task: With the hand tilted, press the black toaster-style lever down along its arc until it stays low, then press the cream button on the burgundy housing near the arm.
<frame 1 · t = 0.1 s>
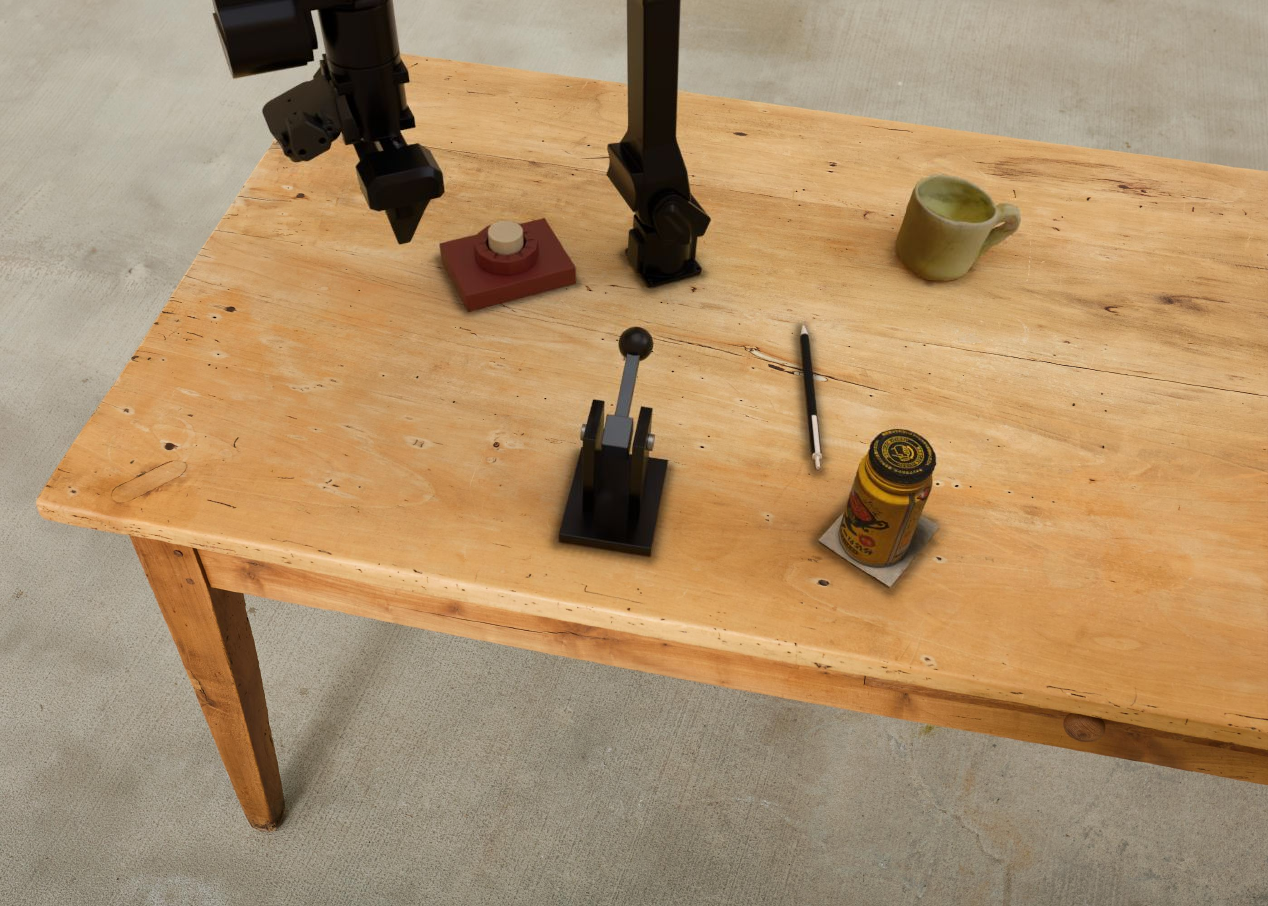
hand: (389, 212, 95), 15 cm above the table, tool pointing down, fingers open, 9 cm apart
button housing: (508, 271, 113), on the table
cancel button: (505, 237, 109), point 4 cm above the table, slide at 0.1 cm
lever bracket: (614, 503, 93), on the table
mug: (948, 260, 117), on the table
condiment: (878, 536, 92), on the table
pen: (809, 396, 103), on the table
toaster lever: (627, 389, 88), point 10 cm above the table, hinge at 15.0°
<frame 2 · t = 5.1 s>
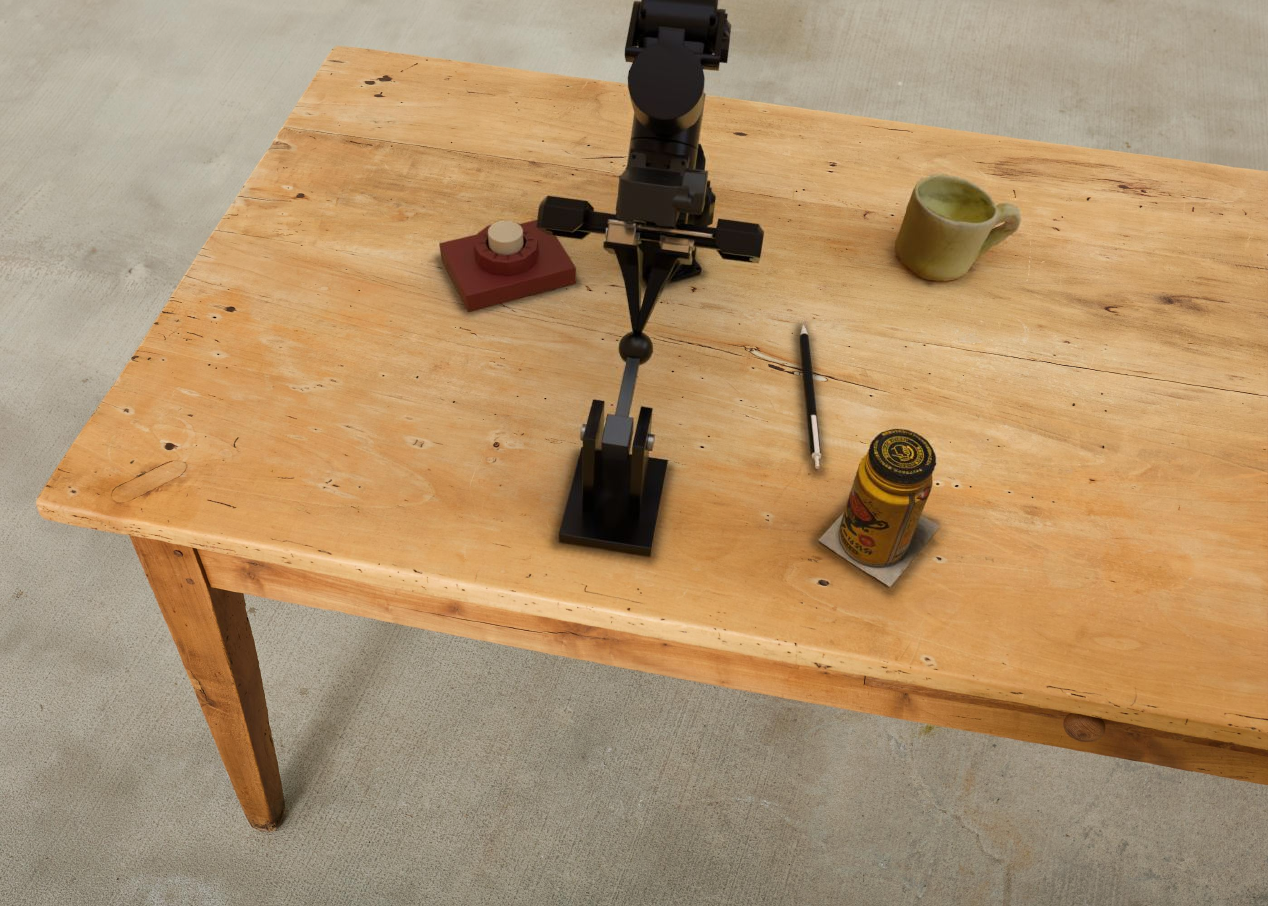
hand: (637, 332, 90), 12 cm above the table, tool tilted 45°, fingers closed, pressing on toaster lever
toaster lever: (627, 391, 89), point 10 cm above the table, hinge at 10.7°, touching gripper
everything else where it was.
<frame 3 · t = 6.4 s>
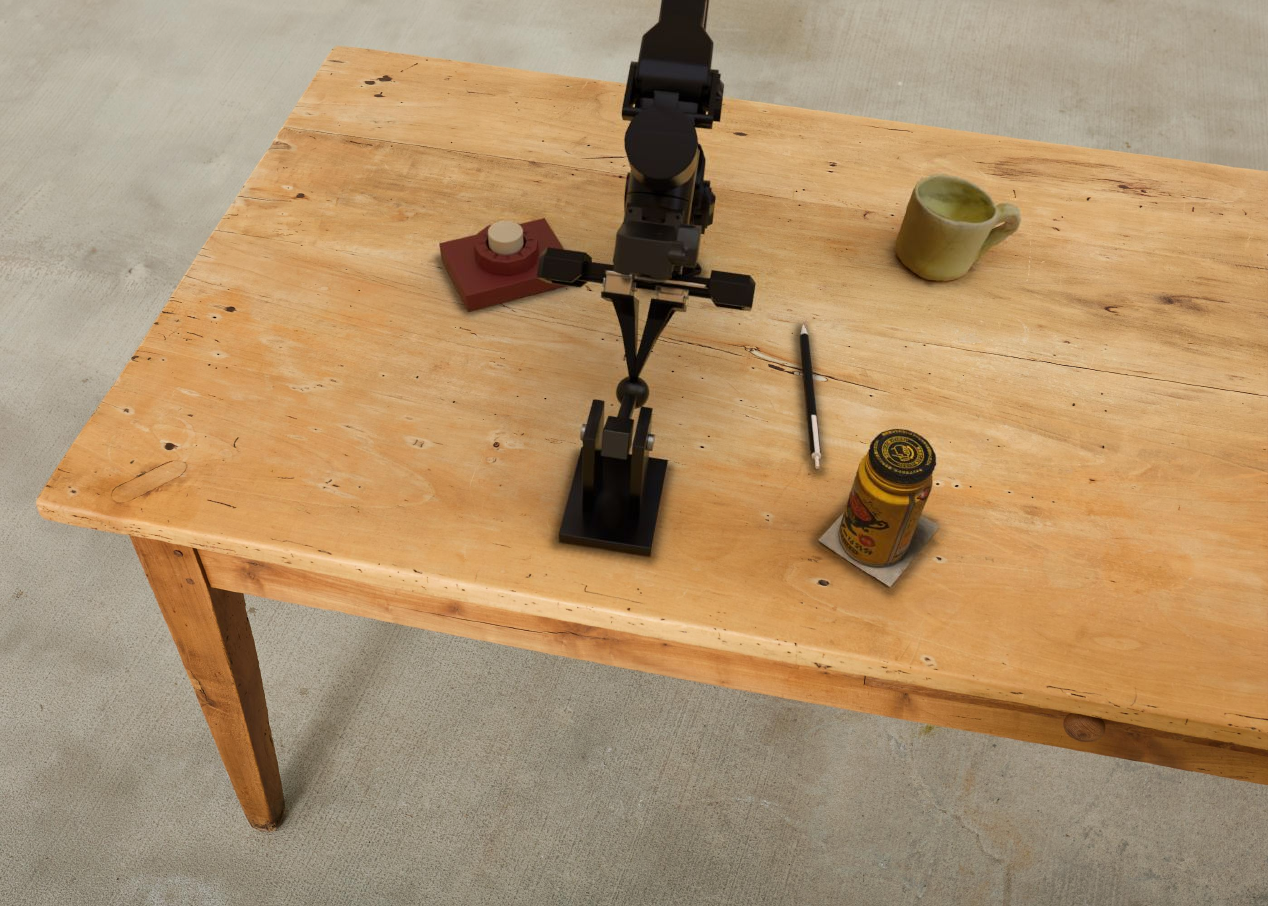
hand: (633, 377, 93), 7 cm above the table, tool tilted 45°, fingers closed, pressing on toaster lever
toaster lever: (625, 413, 90), point 7 cm above the table, hinge at -21.8°, touching gripper
everything else where it was.
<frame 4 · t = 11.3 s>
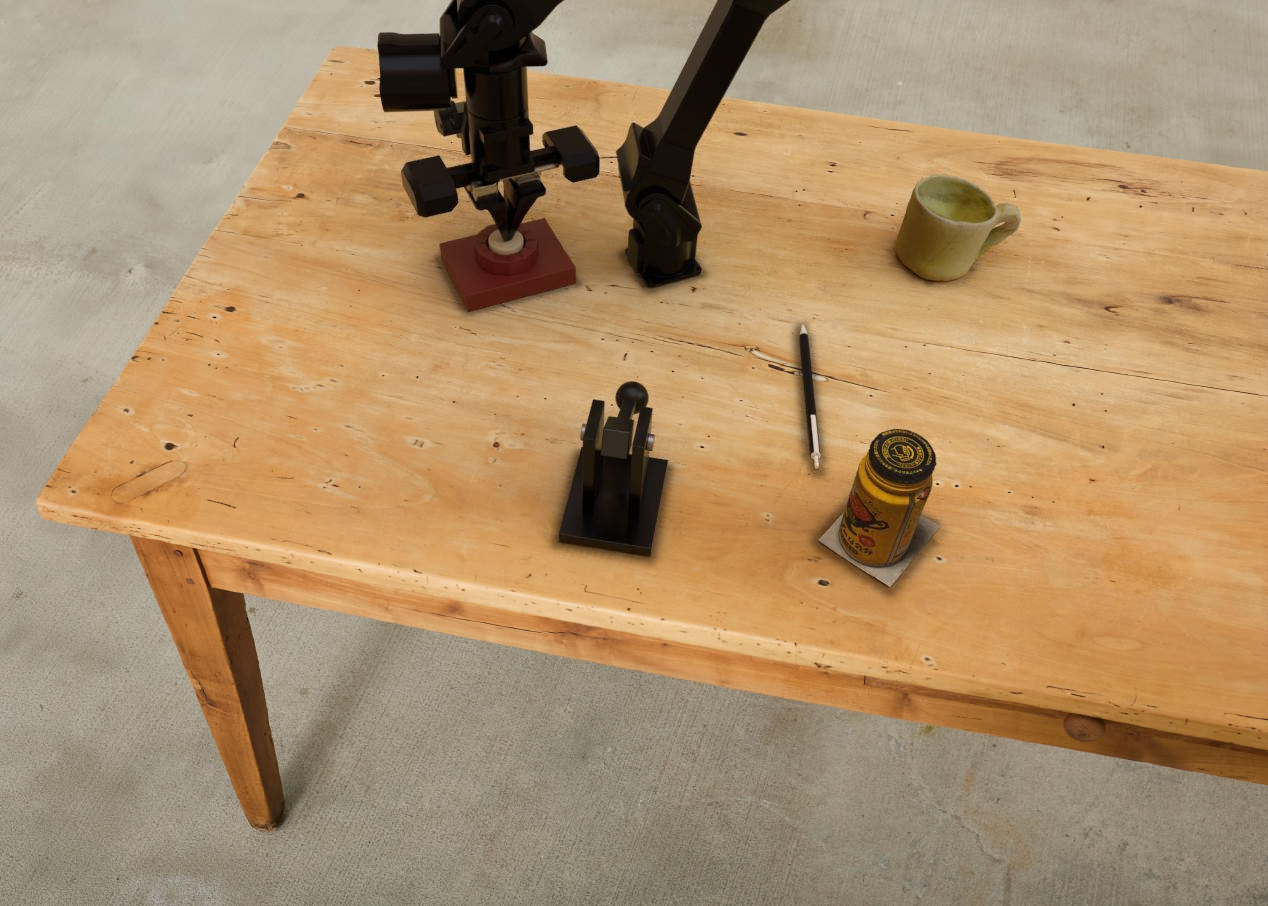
hand: (506, 238, 110), 4 cm above the table, tool pointing down, fingers closed, pressing on cancel button
cancel button: (506, 245, 110), point 3 cm above the table, slide at -0.9 cm, touching gripper
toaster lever: (625, 416, 91), point 7 cm above the table, hinge at -25.2°
everything else where it was.
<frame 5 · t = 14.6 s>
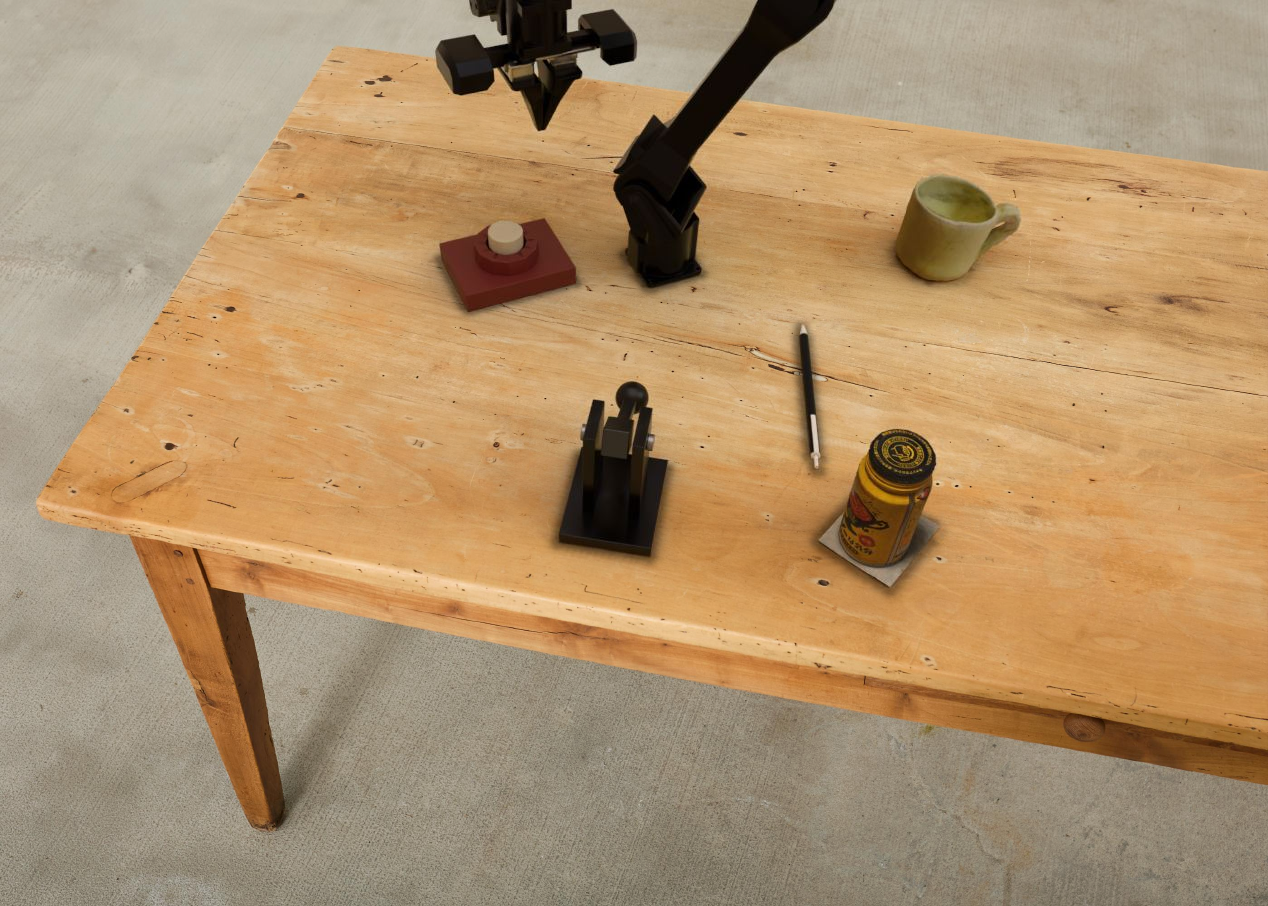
hand: (540, 128, 108), 13 cm above the table, tool pointing down, fingers closed
cancel button: (505, 237, 109), point 5 cm above the table, slide at 0.1 cm
everything else where it was.
at the end: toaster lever at -25° (first picture: +15°); cancel button pushed in 1.2 cm at the most during the clip, back to where it started at the end; cancel button slide at 0.1 cm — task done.
